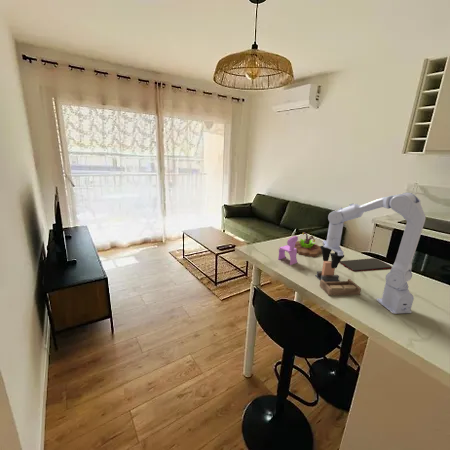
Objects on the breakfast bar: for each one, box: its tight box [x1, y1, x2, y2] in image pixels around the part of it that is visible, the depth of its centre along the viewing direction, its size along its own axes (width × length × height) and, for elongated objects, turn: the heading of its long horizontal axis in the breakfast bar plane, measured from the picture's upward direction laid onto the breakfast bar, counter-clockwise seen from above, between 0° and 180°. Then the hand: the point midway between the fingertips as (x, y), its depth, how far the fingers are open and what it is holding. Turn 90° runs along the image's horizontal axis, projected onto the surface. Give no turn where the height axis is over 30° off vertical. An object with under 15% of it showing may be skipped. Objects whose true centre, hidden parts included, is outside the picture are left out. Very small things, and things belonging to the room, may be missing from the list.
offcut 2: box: [342, 285, 356, 290], centre depth 107 cm, size 2×5×3 cm, turn 97°
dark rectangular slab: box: [339, 257, 393, 273], centre depth 135 cm, size 12×2×25 cm
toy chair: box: [277, 235, 299, 266], centre depth 134 cm, size 8×9×15 cm
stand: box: [314, 270, 340, 282], centre depth 118 cm, size 6×9×2 cm, turn 97°
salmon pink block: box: [321, 260, 336, 275], centre depth 117 cm, size 2×5×8 cm, turn 97°
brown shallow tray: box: [319, 278, 362, 296], centre depth 108 cm, size 8×14×3 cm, turn 97°
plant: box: [288, 232, 322, 258], centre depth 152 cm, size 20×20×11 cm
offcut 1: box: [329, 285, 343, 290], centre depth 106 cm, size 2×5×3 cm, turn 97°
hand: (329, 264), depth 116 cm, fingers open, 7 cm apart
